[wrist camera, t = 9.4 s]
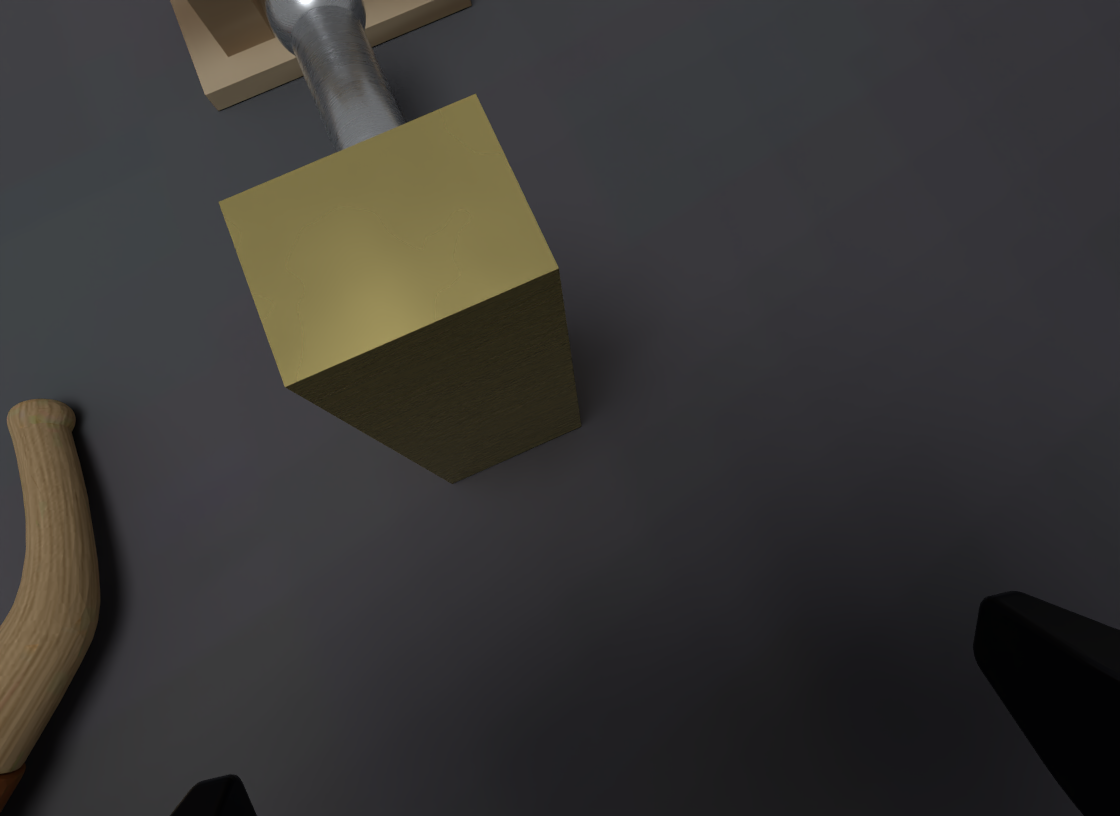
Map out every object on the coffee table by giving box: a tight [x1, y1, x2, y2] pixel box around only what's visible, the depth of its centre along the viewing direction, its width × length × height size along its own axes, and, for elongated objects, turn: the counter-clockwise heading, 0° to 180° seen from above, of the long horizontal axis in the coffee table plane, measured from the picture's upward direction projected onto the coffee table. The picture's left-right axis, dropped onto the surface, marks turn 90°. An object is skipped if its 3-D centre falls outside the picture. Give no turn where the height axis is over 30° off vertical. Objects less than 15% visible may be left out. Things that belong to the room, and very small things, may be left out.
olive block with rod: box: [219, 0, 581, 484], centre depth 16 cm, size 13×4×11 cm, turn 24°
